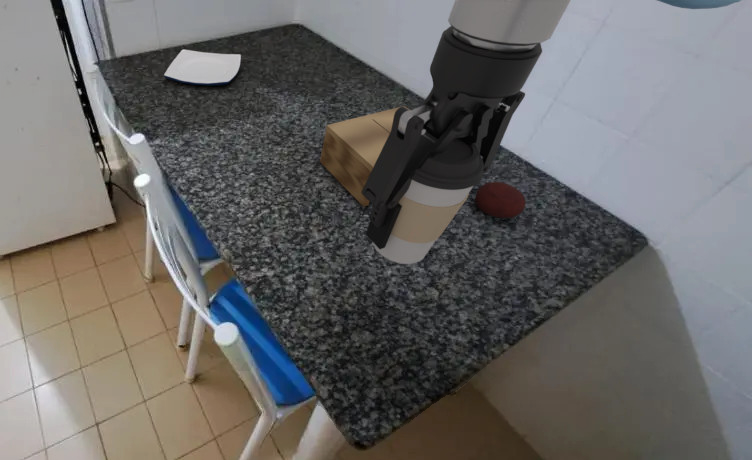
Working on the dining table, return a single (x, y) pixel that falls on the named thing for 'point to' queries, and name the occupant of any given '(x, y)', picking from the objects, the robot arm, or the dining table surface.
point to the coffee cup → (433, 201)
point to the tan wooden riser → (356, 149)
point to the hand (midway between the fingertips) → (405, 229)
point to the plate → (203, 68)
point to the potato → (500, 200)
